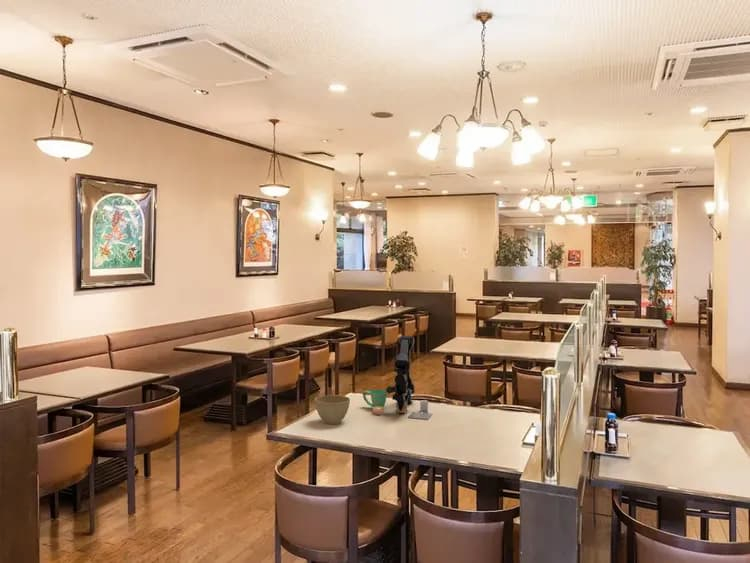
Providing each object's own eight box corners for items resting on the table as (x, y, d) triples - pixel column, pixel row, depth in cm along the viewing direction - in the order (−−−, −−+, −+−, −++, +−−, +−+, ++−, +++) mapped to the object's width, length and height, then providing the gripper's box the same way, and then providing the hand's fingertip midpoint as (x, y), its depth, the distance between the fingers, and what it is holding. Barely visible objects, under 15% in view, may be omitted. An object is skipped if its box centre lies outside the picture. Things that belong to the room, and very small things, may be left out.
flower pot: (348, 427, 286) (348, 403, 286) (312, 426, 286) (312, 403, 286) (350, 417, 304) (350, 395, 304) (317, 417, 304) (317, 394, 304)
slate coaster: (412, 412, 314) (412, 411, 314) (432, 414, 311) (432, 413, 311) (407, 418, 304) (407, 417, 304) (428, 419, 300) (428, 418, 300)
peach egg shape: (374, 412, 316) (374, 405, 316) (384, 412, 314) (384, 406, 314) (371, 414, 310) (371, 408, 310) (382, 415, 308) (382, 409, 308)
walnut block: (398, 409, 316) (398, 400, 316) (407, 410, 315) (407, 401, 315) (396, 412, 312) (396, 402, 311) (405, 412, 310) (405, 403, 310)
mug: (390, 407, 324) (390, 390, 324) (383, 412, 316) (383, 394, 315) (366, 405, 331) (367, 387, 330) (359, 409, 322) (359, 391, 321)
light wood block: (420, 410, 319) (420, 400, 319) (427, 410, 319) (427, 400, 319) (420, 412, 315) (420, 401, 315) (427, 412, 315) (427, 402, 315)
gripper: (392, 376, 324) (392, 404, 325) (383, 383, 306) (383, 412, 307) (411, 378, 321) (411, 405, 321) (403, 385, 303) (403, 414, 303)
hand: (401, 409), depth 313 cm, fingers closed on walnut block, 5 cm apart
